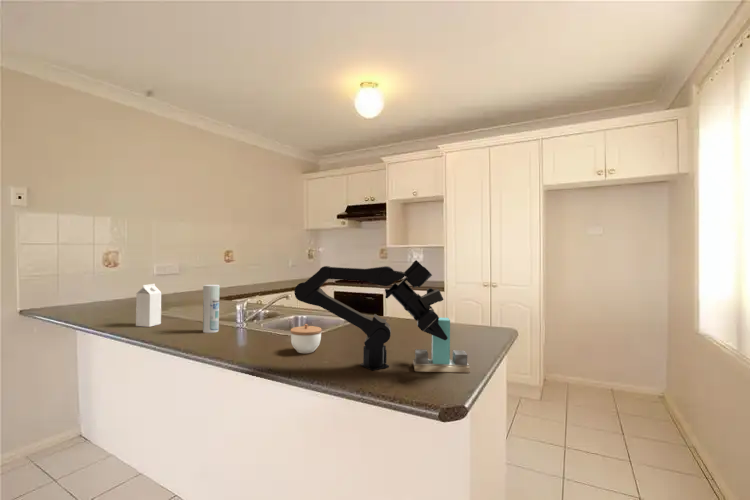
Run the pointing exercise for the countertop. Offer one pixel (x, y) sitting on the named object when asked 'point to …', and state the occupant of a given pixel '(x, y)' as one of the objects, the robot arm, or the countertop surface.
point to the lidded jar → (305, 338)
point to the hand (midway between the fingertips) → (444, 335)
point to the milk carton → (148, 306)
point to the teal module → (441, 344)
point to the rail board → (455, 365)
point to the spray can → (211, 308)
